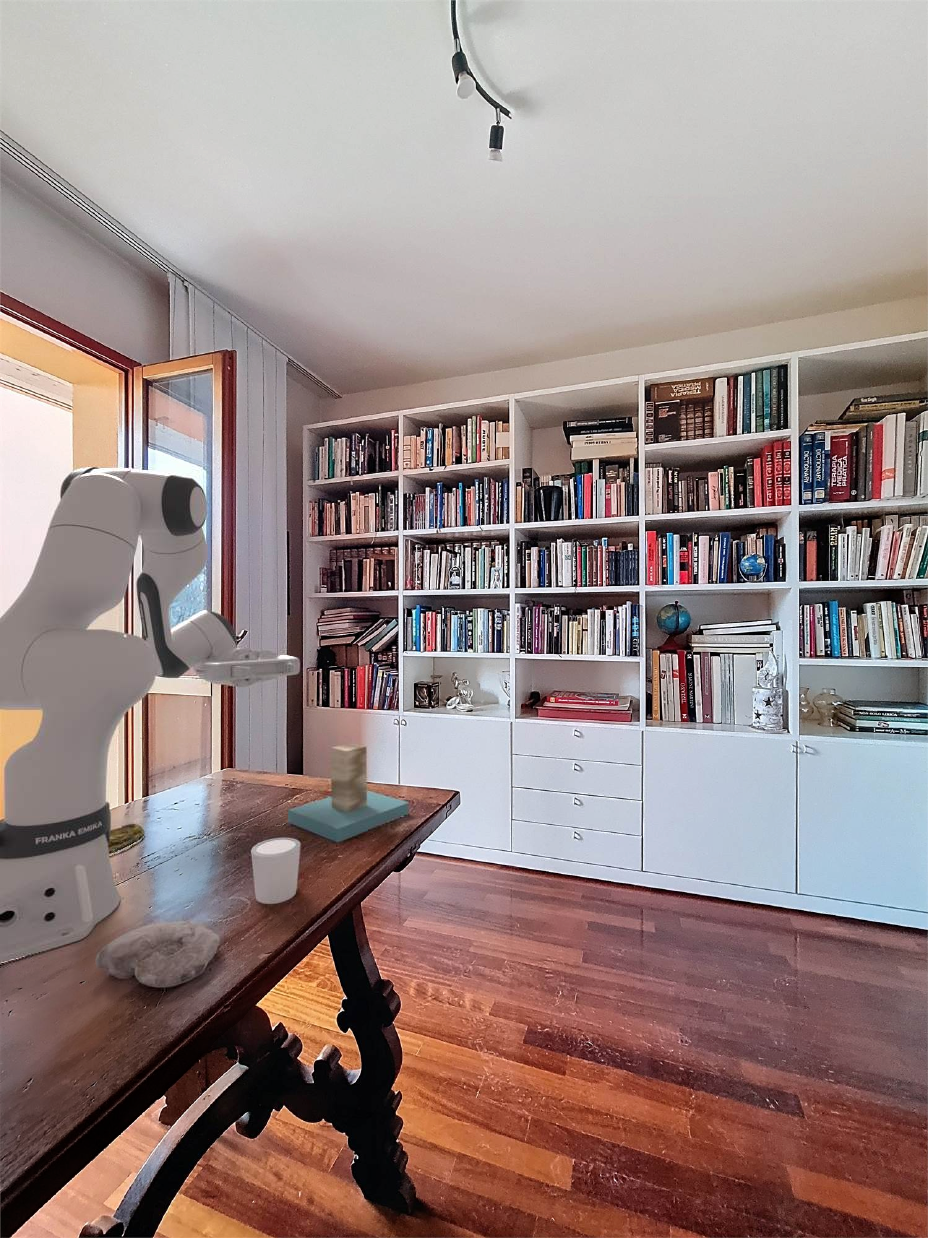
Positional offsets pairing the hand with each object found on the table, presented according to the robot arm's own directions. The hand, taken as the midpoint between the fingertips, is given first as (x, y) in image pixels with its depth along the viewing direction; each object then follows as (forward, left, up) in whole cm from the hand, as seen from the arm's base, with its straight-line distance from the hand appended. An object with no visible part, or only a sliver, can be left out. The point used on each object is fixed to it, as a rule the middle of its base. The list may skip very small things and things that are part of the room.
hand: (272, 670), depth 112 cm
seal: (-27, +9, -31) cm, 42 cm away
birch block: (+8, -15, -27) cm, 32 cm away
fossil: (-35, -36, -30) cm, 59 cm away
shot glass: (-18, -31, -30) cm, 47 cm away
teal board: (+8, -15, -30) cm, 35 cm away
